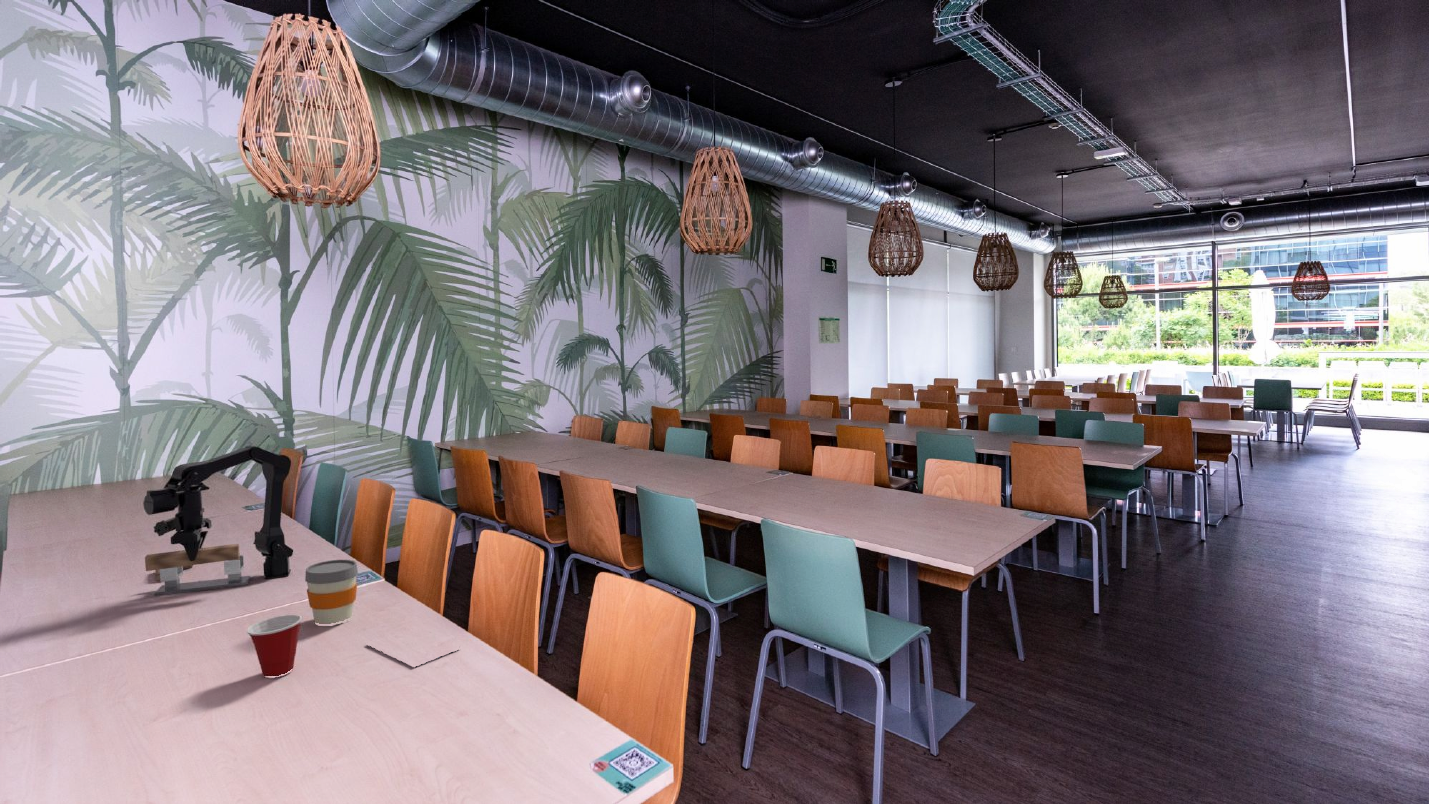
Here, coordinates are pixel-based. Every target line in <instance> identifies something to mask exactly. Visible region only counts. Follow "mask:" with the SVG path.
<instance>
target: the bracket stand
mask: <svg viewBox="0 0 1429 804" xmlns="http://www.w3.org/2000/svg"><path fill="white" fill-rule="evenodd" d="M244 557H245V556H244V554H240V557H239V559H236V560H228V561H223V571H224V572H223V574H224V576H227V577H223V578H216V579H208V580H199V581H189V582H181V581H180V577H182V576H183V574H184V569H183V566H182V567H174V568H167V569H160V582H159V583H162V582H164V584H162V585H161V586H160V587H158V589H157V590H155V592H154V597H157V596H165V595H173V594H182V593H192V592H201V591H207V590H218V589H224V588H225V589H227V588H235V587H234V586H236V587H243V586H247V585H248V583H249V582H250V580H251V577H252V576H251V575H243V576H242V574H243V573H242V571H243V570H244V569H245V558H244Z"/></svg>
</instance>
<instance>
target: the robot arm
mask: <svg viewBox="0 0 1429 804" xmlns="http://www.w3.org/2000/svg"><path fill="white" fill-rule="evenodd" d="M249 461H253V462H255V463H257V464H259V465H261V469H262V474H263V477H264V479H265V481H266V484H265V494H264V495H265V497H264V509H263V510H264V511H263V521H262V526H261V528H260V530H259V531H258V530H257V531H254V540H253V545H255V549H256V550H257V551H258V552H259V553H260V554H261V555H262V557H265V558H264V560H265V561H264V562H263V564H262V565H263V566H262V567H263V576H265V577H264V579H265V580H266V579H276V578H284V577H289V575H290V573H291V572H292V571H291V569H290V558H291V557H292V556H293V554H294V549H293V548H291V547H290V546H288V545H287V544H286V541H285V534H284V532H283V531H284V530H283V529H282V512H283V511H282V509H283V508H282V507H283V496H284V483H285V481H286V479H287V478H288V476H289V474H290V470H291V467H292V459H291V458H290V457H289V456H287V455H286V454H278V453H275V452H271V451H268V450H265V449H263V448H261V447H259V446H258V445H257V446H256V445H246V446H244V447H243V448H240V449H236V450H234V451H231V452H228V453H225V454H222V455H219V456H216V457H213V458H210V459H206V460H202V461H196V462H195V461H193V462H189V463H182V464H178V465H177V466H175V467H174V469H173V470H172V472H171V476H170V478H169V479H168V481H167V482H166V483H165V485H164V486H163V488H159V489H150V490H147V491H146V495H144V501H143V509H144V511H145V513H146V514H147V515H148V516H151V515H157V514H162V513H163V514H164V513H168V512H172V511H175V509H176V508H177V512H176V514H175V515H174V517H171V518H169V519H166V520H164V519H162V520H160V521H158V522H156V523H155V525H154V526H153V529H154V530H153V532H154V533H155V534H157V535H158V537H162V536H164V535H165V534H167V533H170V532H172V531H175V533H174V534H172V536H171V537H170V544H171V545H178V544H179V545H181V546H183V548H184V550H186V553H187V555H188V557H189V560H190V561H195V559H196V556H197V553H198V550H199V548H203V546H204V543H205V540H206V537H207V536H208V533H209V531H208V530H203V528H206V529H209V530H210V529H211V528H212V527H213V526H212V525H213V524H212V520H211V519H209V518H208V517H206V518H204V512H205V507H203V497H202V491H209V490H210V487H209V486H208V485H206V484H204V483H203V482H205V481H206V480H209V478H210V477H211V476H213V475H214V474H216V473H219V472H221V471H224V470H227V469H230V468H232V467H236V466H238V465H242V464H244V463H247V462H249Z"/></svg>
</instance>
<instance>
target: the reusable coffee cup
mask: <svg viewBox="0 0 1429 804" xmlns="http://www.w3.org/2000/svg"><path fill="white" fill-rule="evenodd" d="M358 574H359V571H358V566H357V562H356V561H355V560H351V559H331V560H327V561H321V562H317V563H313V564H311V565H309V566H307V567H306V569H305V579H304V580H305V582H306V583H307V585H306V586H307V589H306V594H307V599H308V605H309V607H310V609H311V610H312V615H313V619H314V620H313V621H314V623H315V622H316V623H319V624H331V623H336V622H339V621H344V620H345V619H348V618H350V617H351V616H352V617H353V613H354V603H355V601H356V599H357V590H358V588H357V587H358V582H357V575H358Z"/></svg>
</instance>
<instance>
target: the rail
mask: <svg viewBox="0 0 1429 804" xmlns="http://www.w3.org/2000/svg"><path fill="white" fill-rule="evenodd" d="M240 555H241V553H240V543H233V544H224V545H216V546H210V547H209V546H208V547H207V546H206V547H202V548H199V550H198V553H197V556H196V559H195V561H190V560H189V557H188V555H187V553H186V550H185V549H183V550H175V551H167V552H159V553H150V554H146V555H145V556H144V563H145V572H151V571H155V570H159V569H167V568H174V567H182V566H190V565H193V566H196V565H197V566H198V565H203V564H211V563H219V562H224V561H228V560H236V559H239V557H240Z"/></svg>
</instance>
